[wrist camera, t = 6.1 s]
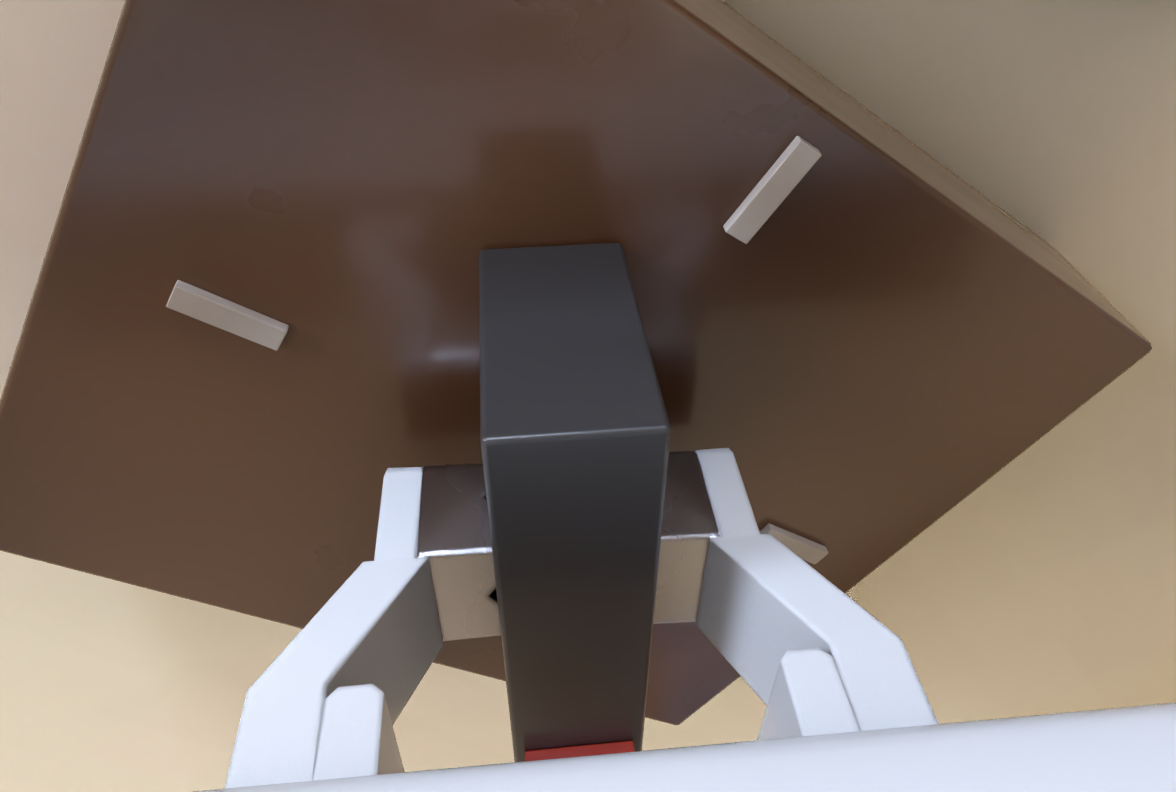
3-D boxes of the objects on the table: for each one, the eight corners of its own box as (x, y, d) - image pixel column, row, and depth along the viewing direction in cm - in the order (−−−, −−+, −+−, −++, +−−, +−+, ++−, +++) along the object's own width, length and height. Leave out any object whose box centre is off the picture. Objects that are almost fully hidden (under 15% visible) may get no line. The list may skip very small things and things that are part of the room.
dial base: (32, 411, 15) (-51, 549, 13) (285, -324, 9) (220, -324, 7) (656, 614, 21) (679, 734, 19) (1054, 247, 15) (1164, 355, 13)
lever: (478, 247, 10) (480, 459, 8) (622, 240, 11) (677, 446, 8) (509, 594, 15) (518, 808, 12) (610, 585, 15) (642, 795, 12)
